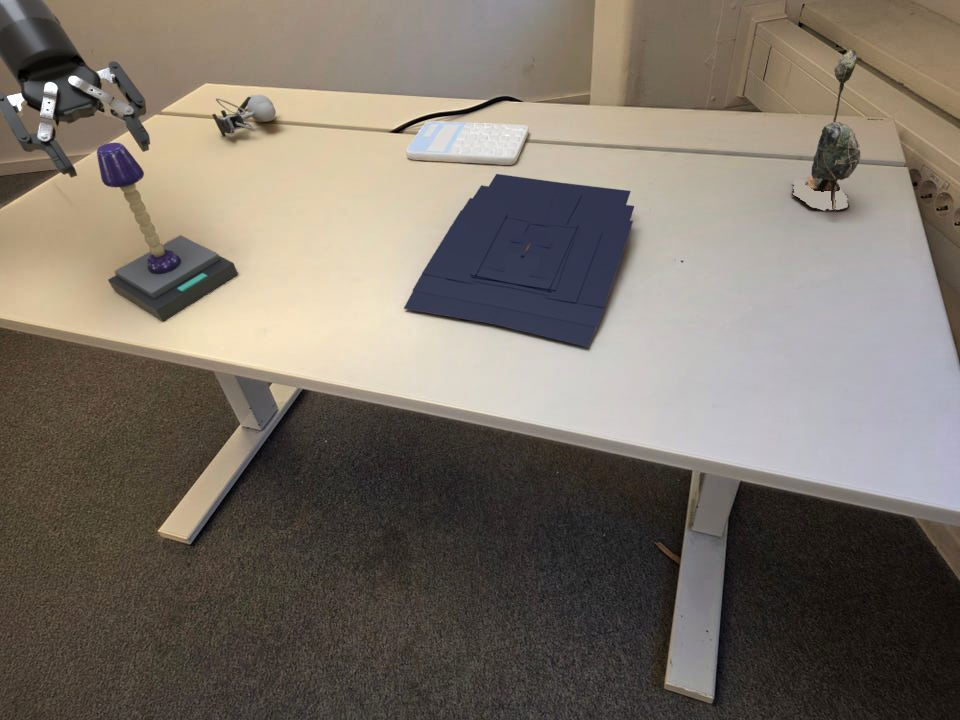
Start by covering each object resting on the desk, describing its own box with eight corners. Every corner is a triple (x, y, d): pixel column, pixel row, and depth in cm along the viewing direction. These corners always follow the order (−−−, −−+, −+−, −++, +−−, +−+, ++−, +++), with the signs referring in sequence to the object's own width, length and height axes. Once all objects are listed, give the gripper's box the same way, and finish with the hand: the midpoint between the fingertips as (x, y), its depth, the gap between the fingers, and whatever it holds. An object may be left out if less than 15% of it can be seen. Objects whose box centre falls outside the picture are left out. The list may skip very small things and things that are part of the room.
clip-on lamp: (218, 131, 129) (227, 143, 114) (203, 100, 125) (210, 109, 111) (271, 112, 131) (285, 121, 117) (257, 81, 128) (271, 87, 113)
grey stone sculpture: (786, 216, 87) (834, 69, 73) (790, 178, 94) (835, 39, 80) (849, 224, 84) (911, 74, 70) (848, 186, 91) (905, 43, 77)
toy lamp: (177, 250, 85) (121, 134, 73) (191, 264, 82) (134, 145, 70) (143, 265, 82) (80, 148, 71) (156, 279, 80) (92, 160, 68)
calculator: (515, 166, 103) (515, 156, 101) (404, 160, 107) (402, 150, 106) (530, 132, 112) (529, 122, 110) (427, 128, 116) (425, 118, 115)
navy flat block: (642, 208, 88) (644, 187, 85) (590, 363, 71) (591, 342, 68) (486, 187, 95) (484, 167, 93) (405, 322, 78) (399, 303, 76)
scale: (162, 321, 78) (152, 303, 76) (114, 291, 84) (103, 273, 82) (238, 274, 85) (231, 256, 83) (189, 249, 90) (181, 232, 88)
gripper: (96, 42, 77) (169, 154, 78) (-30, 74, 70) (53, 196, 72) (87, 1, 70) (168, 125, 72) (-52, 32, 64) (40, 168, 65)
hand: (110, 160), depth 72 cm, fingers open, 8 cm apart
